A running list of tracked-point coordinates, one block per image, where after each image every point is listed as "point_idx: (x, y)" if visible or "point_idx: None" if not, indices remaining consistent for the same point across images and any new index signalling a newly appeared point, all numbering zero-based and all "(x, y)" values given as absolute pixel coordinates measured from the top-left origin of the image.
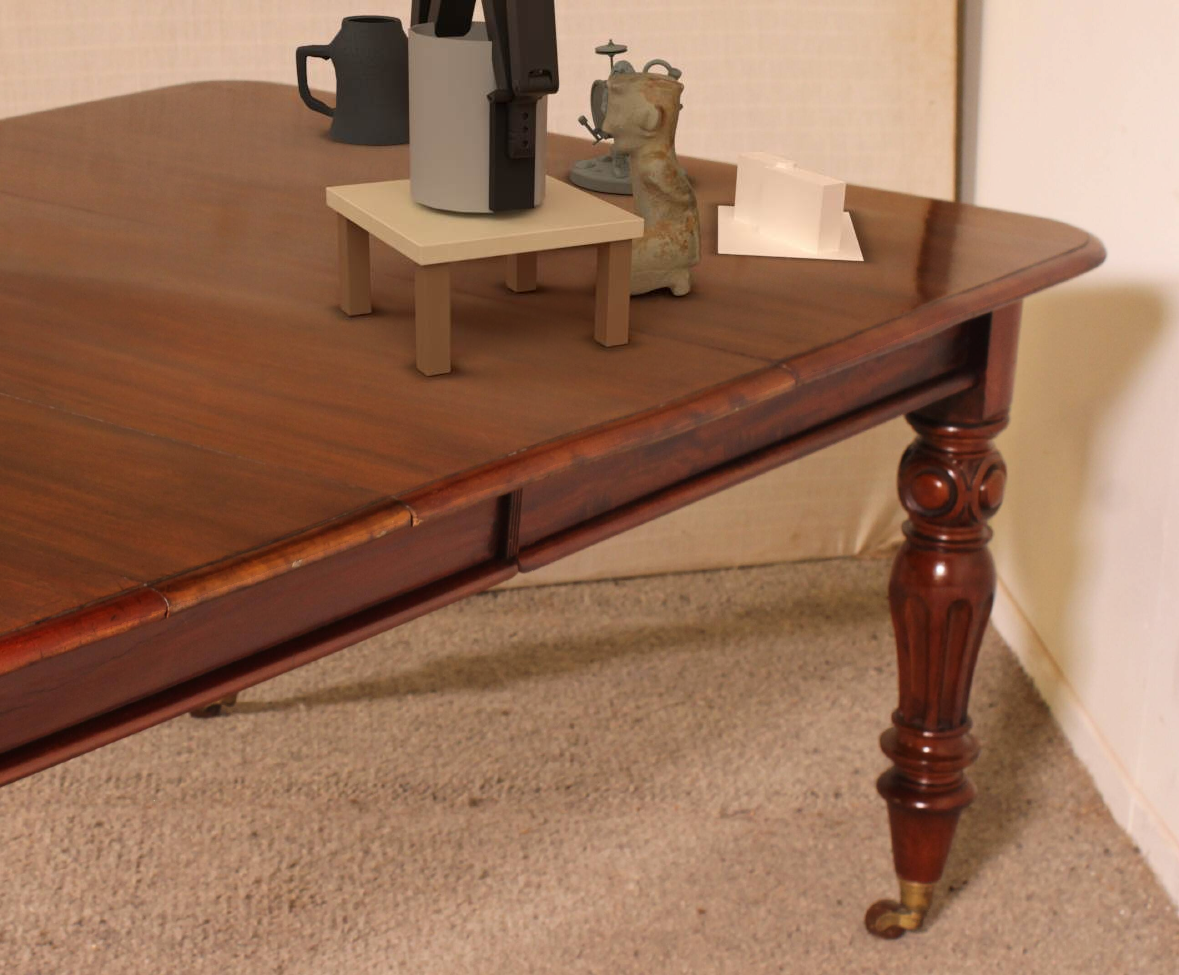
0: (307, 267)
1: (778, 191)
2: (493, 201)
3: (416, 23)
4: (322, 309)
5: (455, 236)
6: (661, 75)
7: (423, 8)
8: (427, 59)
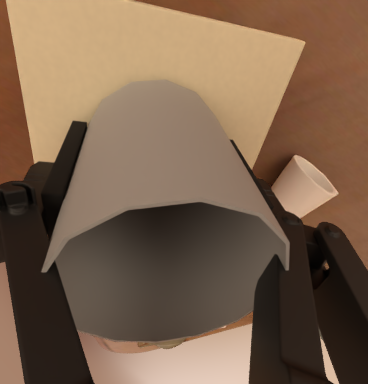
0: (340, 70)
1: None
2: (73, 125)
3: (341, 260)
4: (258, 16)
5: (35, 46)
6: (168, 346)
7: (343, 287)
8: (149, 173)
